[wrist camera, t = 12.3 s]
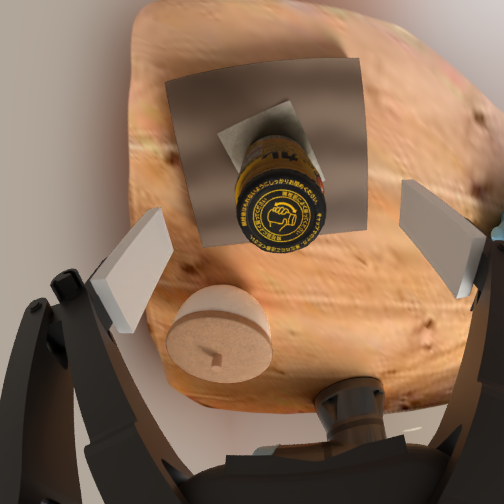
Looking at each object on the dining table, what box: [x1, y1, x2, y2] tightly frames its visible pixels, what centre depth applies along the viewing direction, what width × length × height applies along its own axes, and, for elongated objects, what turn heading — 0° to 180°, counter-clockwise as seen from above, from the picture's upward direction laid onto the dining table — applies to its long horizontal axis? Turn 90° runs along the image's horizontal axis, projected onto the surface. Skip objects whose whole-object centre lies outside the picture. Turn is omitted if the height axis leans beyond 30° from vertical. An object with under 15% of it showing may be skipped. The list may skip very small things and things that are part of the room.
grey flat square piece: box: [165, 58, 368, 248], centre depth 27 cm, size 18×18×3 cm
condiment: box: [217, 100, 327, 253], centre depth 21 cm, size 7×8×12 cm
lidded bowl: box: [166, 284, 273, 383], centre depth 35 cm, size 13×13×11 cm
